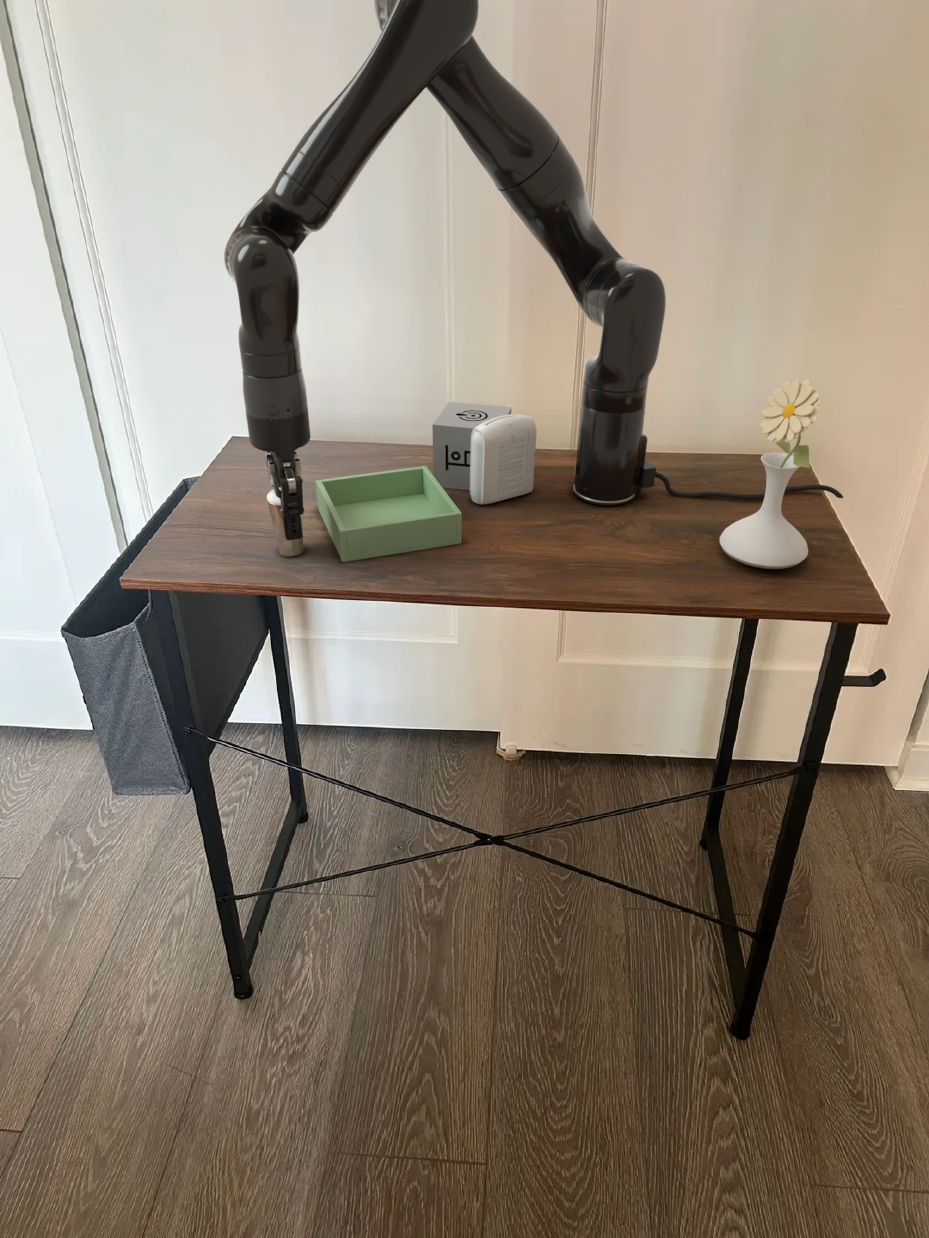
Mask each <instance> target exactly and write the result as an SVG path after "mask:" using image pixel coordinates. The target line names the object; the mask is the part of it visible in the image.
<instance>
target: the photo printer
mask: <svg viewBox="0 0 929 1238" xmlns="http://www.w3.org/2000/svg"><path fill="white" fill-rule="evenodd" d="M536 446H537V426H536V423H535V420H534V418H532V417H530V416H528V415H525V414H520V413H519V414H517V413H516V414H512V413H511V414H510V415H503V416H499V417H496V418H493V419H490V420H488V421H486V422H484V423H482V424H480V425H478V426H477V427H476V428H474V429H473V431H472V434H471V458H470V490H469V496H470V498H471V501H472V502H473V503H475V504H477V505H481V506H482V505H488V504H494V503H497V502H500V501H504V500H508V499H512V498H516V497H520V496H524V495H526V494H529V493H532V492H533V489H534V481H535V480H534V479H535V464H536V463H535V462H536Z"/></svg>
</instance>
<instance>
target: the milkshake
mask: <svg viewBox="0 0 929 1238" xmlns="http://www.w3.org/2000/svg"><path fill="white" fill-rule="evenodd" d="M279 489H280V490H281V487H279ZM266 500H267V505H268V509H269V513H270V517H271V520H272V524H273V529H274V533H275V538H276V543H277V548H278V551H279V555H281V556H284V557H296V556H299V555H301V554H302V553H303V552H304V526H303V525H304V524H303V514H301V515H300V516H301V526H302V538H300V539H295V540H287V539H286V537H285V533H284V525H283V516H282V513H281V512H280V509H281V506H280V499H279V498H278V497H277V496H276V495H275V493H274V488H273V489H271V490H270V491H269V492H268V493H267V494H266ZM292 504H296V502H295V503H289V504H288V505H292Z"/></svg>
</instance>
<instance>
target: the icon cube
mask: <svg viewBox="0 0 929 1238" xmlns="http://www.w3.org/2000/svg"><path fill="white" fill-rule="evenodd" d="M510 414H512V406H502V405H501V406H500V405H491V404H478V403H468V402H467V403H466V402H457V401H456V402H454V401H448V402H447V403H446V405H445V407H444V408H443V409H442V410H441V412H440V414H439V415H438V416H437V418H436V419H435V420H434V422H433V423H432V475H433V476H434V477H435V479H436V480H437V481H438V483H439V484H440V485H441V486H442V488H443V489H452V490H461V491H470V458H471V434H472V431H473V429H474V428H476V427H477V426H478V425H480V424H482V423H484V422H486V421H488V420H490V419H493V418H496V417H499V416H503V415H510Z"/></svg>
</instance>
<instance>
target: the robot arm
mask: <svg viewBox="0 0 929 1238" xmlns="http://www.w3.org/2000/svg"><path fill="white" fill-rule="evenodd" d="M373 5H374V15H375V21H376V25H377V27H378V30H379V33H380V35H379V37H378V39H377V41H376V42H375V45H374V46H373V48H372V50H371V51H370V52H369V54H368V56H367V58H366V59H365V61H364V62H363V64H362V65H361V66H360V68H359V69H358V70H357V71H356V73H355V74H354V76H353V77H352V78H351V80H349V82H348V83H347V84H346V85H345V86H344V88H343V89H342V90H341V91H340V92H339V94H338V95H336V97H335V98H334V99H333V100H332V101H331V102H330V103H329V104H328V105H327V106H326V107H325V108H324V110H323V111H322V112H320V114H319V115H318V116H317V117H316V118H315V120H314V121H313V122H312V123H311V124H310V126H309V127H308V128H307V130H306V131H305V132H304V134H302V136H301V138H300V139H299V140H298V143H297V144H296V145H295V147H294V148H293V150H292V151H291V153H290V154H289V156H288V158H287V159H286V161H285V162H284V164H283V165H282V167H281V168H280V170H279V172H278V173H277V175H276V177H275V179H274V181H273V183H272V184H271V185H270V187H269V188H268V189H267V191H265V193H264V194H263V195H262V196H261V197H259V199H258V200H257V201H256V202H255V203H254V204H253V206H252V207H251V208H250V209H249V210H248V211H247V212H246V214H245V215H244V216H243V217H242V219H241V220H240V221H239V223H238V224H237V225H236V226H235V228H234V229H233V230H232V233H231V234H230V236H229V238H228V240H227V242H226V244H225V248H224V253H223V260H224V261H223V262H224V266H225V269H226V272H227V274H228V276H229V277H230V278H231V280H232V281H233V282H234V283H235V285H236V290H237V296H238V297H237V298H238V305H239V313H240V320H241V323H240V325H239V327H238V335H237V336H238V347H239V355H240V362H241V369H242V395H243V401H244V409H245V416H246V424H247V425H246V426H247V430H248V439H249V443H250V445H251V447H254V448H255V449H257V450H259V451H263V452H266V453H265V454H264V460H265V464H266V468H267V471H268V480H269V482H270V485H271V487H272V488H273V489H274V493H275V495H276V496H277V497H278V498H279V499H280V506H281V509H280V512H281V513H282V516H283V525H284V533H285V537H286V539H287V540H295V539H300V538H302V526H301V516H300V515H301V514H302V515H304V513H305V508H304V493H303V484H304V482H303V481H304V479H303V478H302V476H301V472H302V469H303V468H302V463H301V459H300V457H298V452H297V450H298V449H300V448H303V447H305V446H306V445H307V444H308V443H309V442H310V439H311V428H310V426H311V425H310V416H309V405H308V394H307V386H306V380H305V376H304V371H303V365H302V355H301V354H302V353H301V344H300V343H301V342H300V338H299V332H298V327H299V326H298V325H299V314H300V313H299V311H300V278H299V270H298V264H297V260H296V258H295V253H296V252H297V251H298V250H299V248H300V247H301V245H302V244H303V243H304V242H305V240H306V239H307V238H308V236H309V235H312V234H314V233H318V232H320V231H322V229H323V228H324V227H326V225H327V224H328V223H329V221H330V220H331V218H332V217H333V215H334V214H335V213H336V211H337V210H338V208H339V207H340V205H341V204H342V202H343V201H344V199H345V198H346V196H347V195H348V194H349V192H350V190H351V189H352V187H353V186H354V184H355V182H356V181H357V179H358V178H359V176H360V175H361V173H362V172H363V171H364V169H365V168H366V166H367V165H368V163H369V162H370V160H371V158H372V157H373V156H374V154H375V153H376V151H378V149H379V148H380V147H381V144H382V143H383V142H384V140H385V139H386V138H387V136H388V135H389V134H390V132H391V130H393V128H394V127H395V126H396V125H397V123H398V122H399V121H400V119H401V118H402V117H403V115H404V114H405V113H406V112H407V110H408V109H409V108H411V106H412V104H414V102H415V101H416V100H417V99H418V97H419V96H420V95H421V94H422V93H423V91H424V90H425V89H426V90H427V91H428V92H429V93H430V95H431V96H432V97H433V98H434V99H435V101H436V102H437V103H438V104H439V106H440V107H441V108H442V109H443V110H444V112H445V113H446V115H447V116H448V118H449V119H450V121H451V122H452V123H453V125H454V127H455V129H456V130H457V132H458V134H459V135H460V136H461V138H462V140H463V142H464V143H465V144H466V146H467V147H468V149H469V151H470V152H471V153H472V155H473V156H474V158H475V159H476V160H477V162H478V164H479V165H480V166H481V168H482V169H483V170H484V172H485V174H486V175H487V177H488V178H489V179H490V181H491V183H492V184H493V186H494V187H495V189H496V190H497V191H498V192H499V194H500V195H501V197H502V198H503V200H504V202H506V203H507V205H508V206H509V208H510V209H511V210H512V212H513V213H514V214H515V216H516V217H517V218H518V219H519V221H520V222H521V223H522V224H523V226H524V227H525V228H526V229H527V231H528V232H529V234H530V235H531V236H532V237H533V238H534V240H536V242H537V243H538V244H539V245H540V246H541V248H542V249H543V250H544V251H545V252H546V253H547V255H548V256H549V257H550V258H551V260H552V261H553V263H554V264H555V265H556V267H557V269H558V270H559V272H560V274H561V275H562V278H563V279H564V282H565V283H566V285H567V286H568V288H569V290H570V292H571V293H572V295H573V297H574V299H575V301H576V303H577V304H578V306H579V308H580V309H581V311H582V313H583V315H584V316H585V317H586V318H587V319H588V321H590V323H592V324H593V325H595V326H597V327H599V328H600V329H601V338H600V344H599V345H600V346H599V351H598V354H595V355H592V356H590V357H589V358H587V359H586V360H585V362H584V365H583V371H582V372H583V373H582V384H581V396H580V397H581V398H580V408H579V409H580V410H579V423H578V425H579V426H578V434H577V435H578V436H577V448H576V459H575V462H574V466H573V467H574V469H573V470H574V481H573V482H574V484H573V488H572V490H573V494H574V496H576V497H577V498H578V499H579V500H581V501H583V502H585V503H588V504H591V505H598V506H609V507H610V506H613V507H614V506H620V505H624V504H625V505H626V504H628V503H630V502H631V501H633V500H634V499H635V498H639V497H641V494H642V489H648V488H653V487H654V486H655V480H656V479H659V480H661V481H662V482H663V484H664V487H665V490H666V492H668V493H669V494H670V495H672V496H674V497H678V498H691V499H692V498H693V499H694V498H695V499H696V498H705V497H706V498H708V497H711V498H712V497H714V498H725V499H734V500H762V499H763V500H764V497H765V492H763V493H756V494H755V493H753V494H751V493H750V494H747V493H746V494H744V493H743V494H742V493H731V492H724V491H723V492H722V491H698V492H680V491H678V490H675V489H674V488H672V487H671V483H670V480H669V479H668V477H667V476H665V475H664V474H662V473H660V472H657V467H656V466H655V465H653V463H651V462H650V461H648V460H647V459H646V456H647V455H646V454H647V446H648V437H647V436H648V435H646V434H645V433H643V432H644V423H645V415H646V407H647V399H648V398H647V397H648V391H649V381H650V376H651V373H652V371H653V369H654V367H655V366H656V363H657V361H658V357H659V356H658V355H659V352H660V346H661V340H662V335H663V330H664V329H663V328H664V324H665V323H664V322H665V316H666V308H667V292H666V286H665V283H664V281H663V279H662V278H661V276H660V274H658V273H657V272H656V271H654V270H652V269H650V268H648V267H645V266H644V265H641V264H638V263H636V262H633V261H630V260H628V259H627V258H626V257H624V256H623V255H622V254H621V253H620V252H619V251H618V250H617V249H616V248H615V246H614V245H613V244H612V243H611V242H610V240H609V239H608V238H607V236H606V235H605V234H604V233H603V231H602V230H601V228H600V227H599V225H598V223H597V221H596V220H595V217H594V215H593V213H592V210H591V206H590V203H589V197H588V193H587V189H586V184H585V182H584V178H583V176H582V173H581V171H580V168H579V166H578V164H577V163H576V161H575V159H574V157H573V156H572V154H571V153H570V151H569V149H568V148H567V146H566V145H565V143H564V142H563V139H561V137H560V135H559V134H558V132H557V131H556V130H555V128H554V127H553V126H552V124H551V123H550V121H549V120H548V119H547V117H545V115H544V114H543V113H542V112H541V111H540V110H539V109H538V108H537V107H536V106H535V105H534V104H533V103H532V102H531V101H530V100H529V99H528V98H527V97H526V96H525V95H524V94H523V93H521V91H520V90H519V89H517V88H516V87H515V86H514V85H513V84H512V83H511V82H510V81H508V79H506V78H505V76H503V75H502V74H501V73H500V72H499V71H498V69H497V68H495V66H494V65H493V64H492V62H491V61H490V60H489V59H488V57H487V56H486V55H485V53H484V52H483V50H482V49H481V47H480V45H479V43H478V42H477V40H476V39H475V37H474V35H473V33H474V31H475V29H476V26H477V21H478V17H479V5H480V4H479V0H374V3H373ZM279 487H281V490H280V489H279ZM803 491H826V492H829V493H831V494H832V495H834V496H835V497H836V498H838V499H844V496H843V494H842V493H841V492H840V491H839V490H837V489H836V488H834V487H832V486H829V485H825V484H807V485H806V484H805V485H795V486H786V488H785V491H784V493H790V492H803ZM295 502H296V504H292V505H288V504H289V503H295Z"/></svg>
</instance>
